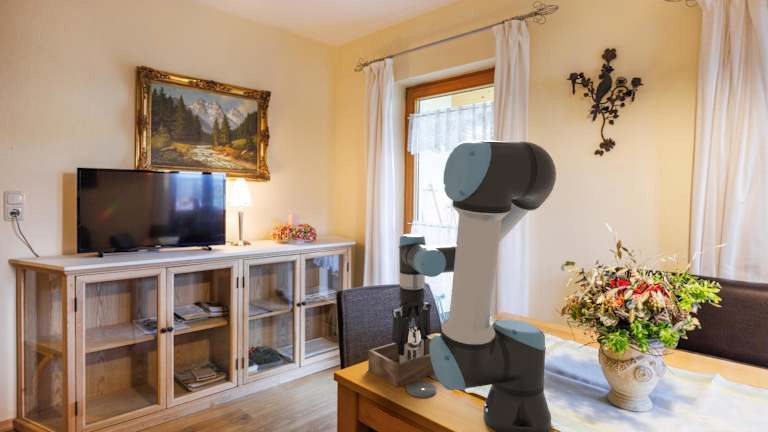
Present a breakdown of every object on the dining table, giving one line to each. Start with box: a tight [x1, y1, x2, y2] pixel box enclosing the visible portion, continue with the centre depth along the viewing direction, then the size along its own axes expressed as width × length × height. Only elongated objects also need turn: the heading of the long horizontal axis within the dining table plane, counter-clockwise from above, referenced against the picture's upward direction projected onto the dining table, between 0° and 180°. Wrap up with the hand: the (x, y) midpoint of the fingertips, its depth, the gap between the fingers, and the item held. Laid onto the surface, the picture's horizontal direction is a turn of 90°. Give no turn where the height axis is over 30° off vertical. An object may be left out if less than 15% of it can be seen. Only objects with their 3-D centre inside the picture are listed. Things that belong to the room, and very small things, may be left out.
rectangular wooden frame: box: [367, 335, 436, 388], centre depth 130 cm, size 14×22×6 cm, turn 127°
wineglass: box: [405, 326, 421, 360], centre depth 130 cm, size 6×6×12 cm
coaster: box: [405, 380, 437, 398], centre depth 117 cm, size 8×8×1 cm
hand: (411, 362), depth 130 cm, fingers closed on wineglass, 6 cm apart
